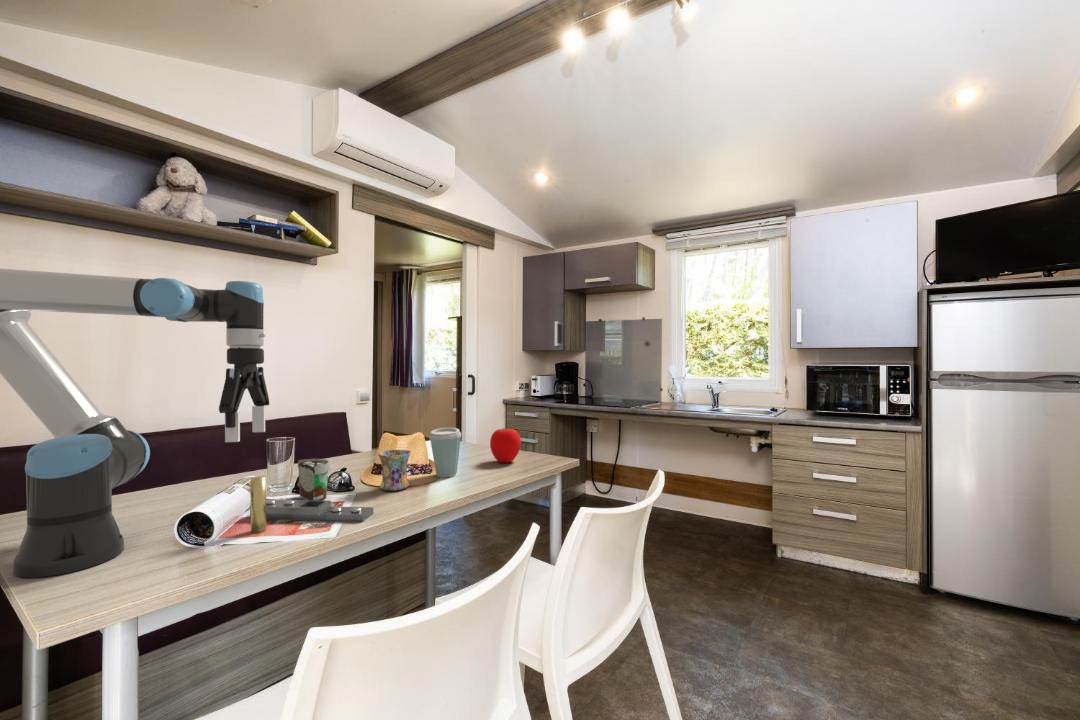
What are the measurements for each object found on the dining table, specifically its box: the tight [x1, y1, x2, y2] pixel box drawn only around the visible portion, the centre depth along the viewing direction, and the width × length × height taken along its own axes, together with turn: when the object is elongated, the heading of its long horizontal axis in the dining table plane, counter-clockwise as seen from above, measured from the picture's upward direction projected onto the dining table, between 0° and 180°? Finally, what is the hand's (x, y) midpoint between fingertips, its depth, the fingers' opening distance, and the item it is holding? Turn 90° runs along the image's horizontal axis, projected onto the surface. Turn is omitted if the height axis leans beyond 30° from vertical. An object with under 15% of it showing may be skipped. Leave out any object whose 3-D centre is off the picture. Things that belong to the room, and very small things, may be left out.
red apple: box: [489, 426, 522, 464], centre depth 174 cm, size 11×11×13 cm
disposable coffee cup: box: [428, 427, 462, 478], centre depth 156 cm, size 11×11×15 cm
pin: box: [249, 475, 267, 534], centre depth 107 cm, size 3×3×12 cm
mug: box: [377, 449, 412, 492], centre depth 141 cm, size 12×9×11 cm
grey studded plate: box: [249, 498, 374, 523], centre depth 116 cm, size 28×6×4 cm, turn 86°
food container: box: [297, 458, 332, 500], centre depth 132 cm, size 12×6×10 cm, turn 47°
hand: (246, 436), depth 113 cm, fingers open, 13 cm apart
